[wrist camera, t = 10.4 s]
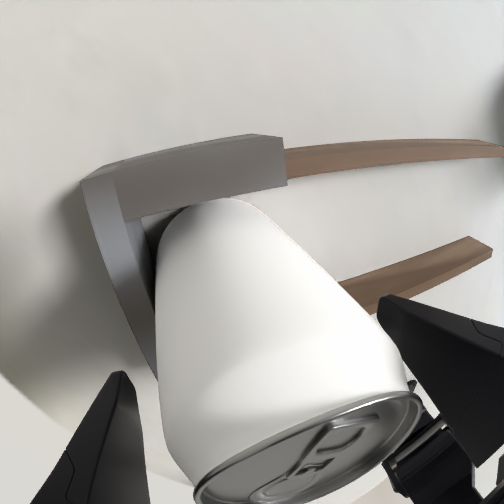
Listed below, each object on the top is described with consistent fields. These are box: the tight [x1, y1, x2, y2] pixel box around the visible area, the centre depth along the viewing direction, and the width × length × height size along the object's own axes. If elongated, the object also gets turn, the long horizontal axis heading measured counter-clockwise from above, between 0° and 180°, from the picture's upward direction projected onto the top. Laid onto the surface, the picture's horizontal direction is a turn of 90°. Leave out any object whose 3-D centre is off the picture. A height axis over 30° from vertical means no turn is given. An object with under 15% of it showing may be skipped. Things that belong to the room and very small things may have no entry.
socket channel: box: [80, 134, 504, 381], centre depth 15 cm, size 12×27×4 cm, turn 97°
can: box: [155, 198, 423, 504], centre depth 10 cm, size 6×6×12 cm
